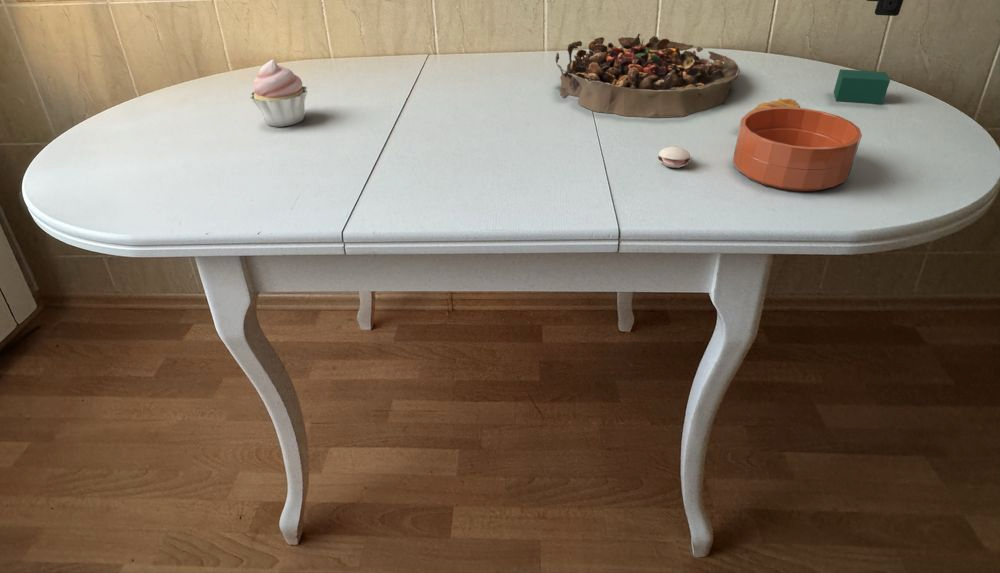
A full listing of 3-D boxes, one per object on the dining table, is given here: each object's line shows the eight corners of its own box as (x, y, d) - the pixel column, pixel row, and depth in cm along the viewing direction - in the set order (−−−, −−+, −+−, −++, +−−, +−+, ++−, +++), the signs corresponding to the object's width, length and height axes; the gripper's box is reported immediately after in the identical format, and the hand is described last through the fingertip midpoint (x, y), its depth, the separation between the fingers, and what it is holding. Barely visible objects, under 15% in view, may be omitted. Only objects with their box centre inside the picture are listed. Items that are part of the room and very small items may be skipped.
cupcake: (321, 122, 103) (308, 61, 98) (264, 135, 100) (247, 72, 94) (305, 107, 110) (292, 48, 104) (251, 118, 106) (235, 58, 100)
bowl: (841, 153, 87) (854, 111, 84) (853, 199, 76) (868, 154, 73) (733, 143, 91) (741, 103, 88) (730, 186, 80) (739, 142, 77)
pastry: (762, 141, 92) (767, 116, 89) (727, 127, 97) (732, 103, 94) (805, 128, 95) (811, 103, 93) (770, 115, 100) (775, 91, 98)
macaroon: (656, 169, 85) (658, 152, 84) (658, 154, 89) (660, 138, 88) (688, 172, 84) (691, 155, 83) (689, 157, 88) (692, 140, 86)
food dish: (580, 56, 134) (582, 17, 129) (740, 71, 124) (749, 30, 119) (526, 104, 107) (527, 57, 102) (726, 128, 97) (737, 78, 92)
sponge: (878, 95, 106) (885, 71, 104) (882, 104, 102) (890, 80, 100) (833, 92, 108) (839, 69, 105) (835, 101, 104) (842, 77, 102)
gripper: (969, -120, 79) (919, 22, 89) (939, -128, 92) (897, -3, 102) (903, -120, 81) (861, 19, 91) (882, -128, 94) (847, -5, 104)
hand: (880, 7), depth 97 cm, fingers open, 9 cm apart
